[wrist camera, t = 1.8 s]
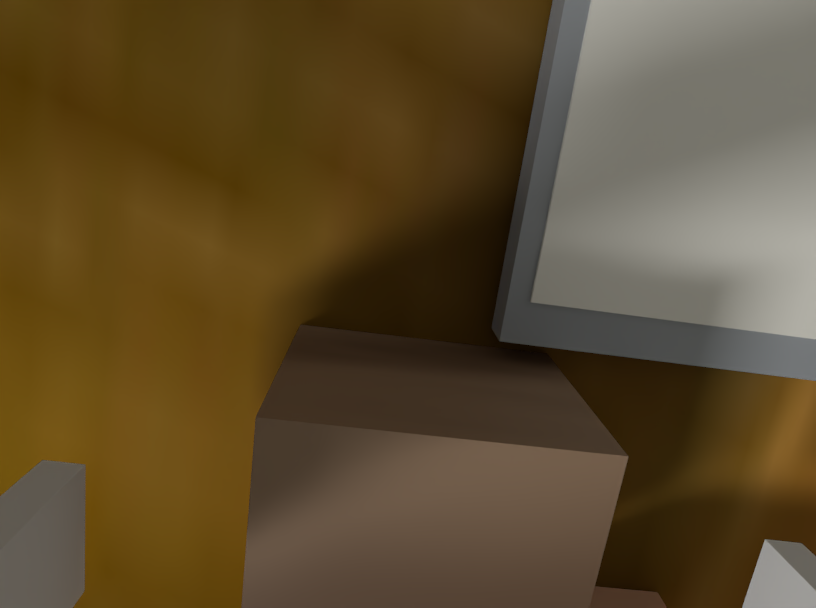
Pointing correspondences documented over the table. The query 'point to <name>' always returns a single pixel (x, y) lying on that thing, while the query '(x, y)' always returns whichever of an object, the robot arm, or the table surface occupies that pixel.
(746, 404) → the table surface
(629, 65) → the slate picture frame
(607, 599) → the terracotta cube
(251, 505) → the walnut block
